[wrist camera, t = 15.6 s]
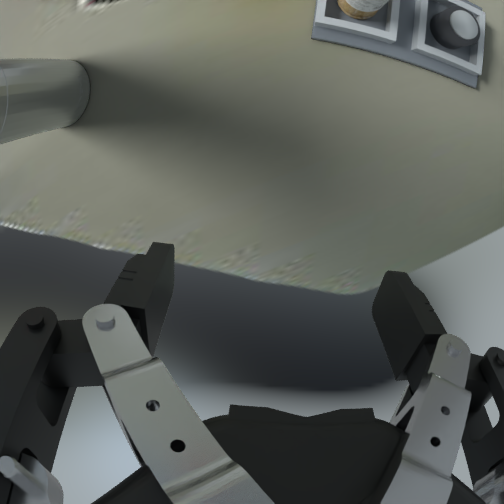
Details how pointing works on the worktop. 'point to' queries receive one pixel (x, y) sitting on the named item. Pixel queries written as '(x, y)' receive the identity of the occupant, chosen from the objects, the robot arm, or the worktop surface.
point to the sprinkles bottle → (361, 7)
